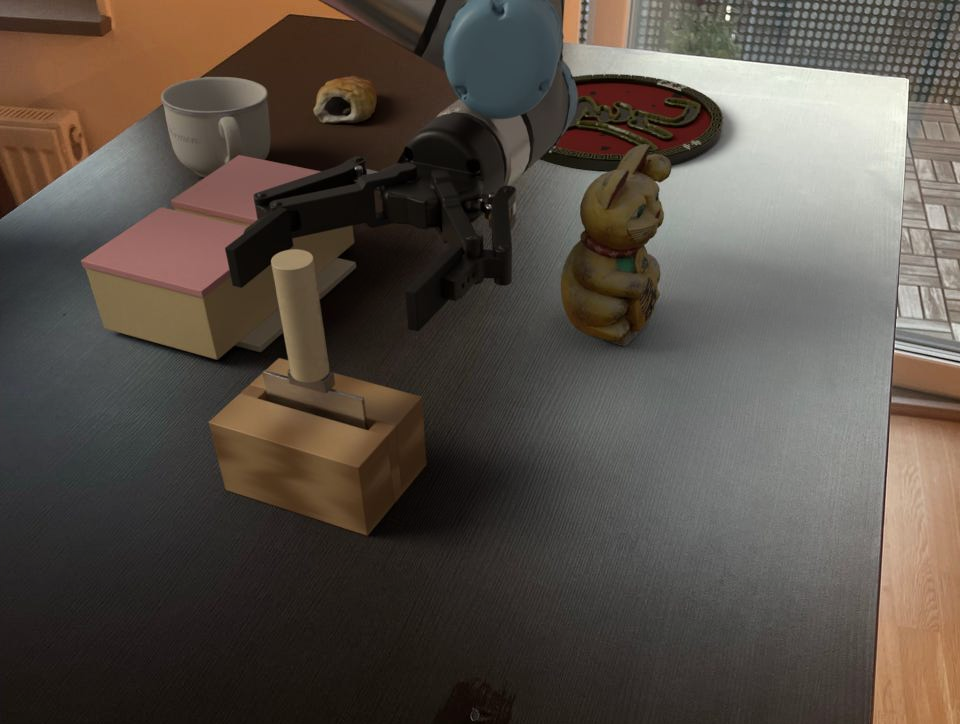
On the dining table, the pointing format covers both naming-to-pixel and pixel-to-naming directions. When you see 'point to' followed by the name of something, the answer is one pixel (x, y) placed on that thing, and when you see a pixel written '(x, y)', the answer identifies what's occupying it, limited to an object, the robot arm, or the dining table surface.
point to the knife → (307, 347)
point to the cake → (204, 266)
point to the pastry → (346, 100)
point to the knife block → (322, 453)
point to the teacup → (217, 121)
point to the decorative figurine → (617, 250)
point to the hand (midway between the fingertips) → (319, 289)
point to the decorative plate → (635, 122)
